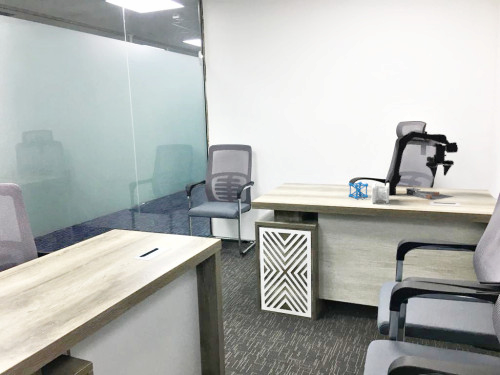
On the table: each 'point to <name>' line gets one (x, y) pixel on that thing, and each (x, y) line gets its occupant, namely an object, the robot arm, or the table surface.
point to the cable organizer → (380, 192)
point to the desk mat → (436, 197)
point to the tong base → (417, 193)
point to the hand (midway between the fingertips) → (439, 176)
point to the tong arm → (429, 193)
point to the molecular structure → (358, 190)
